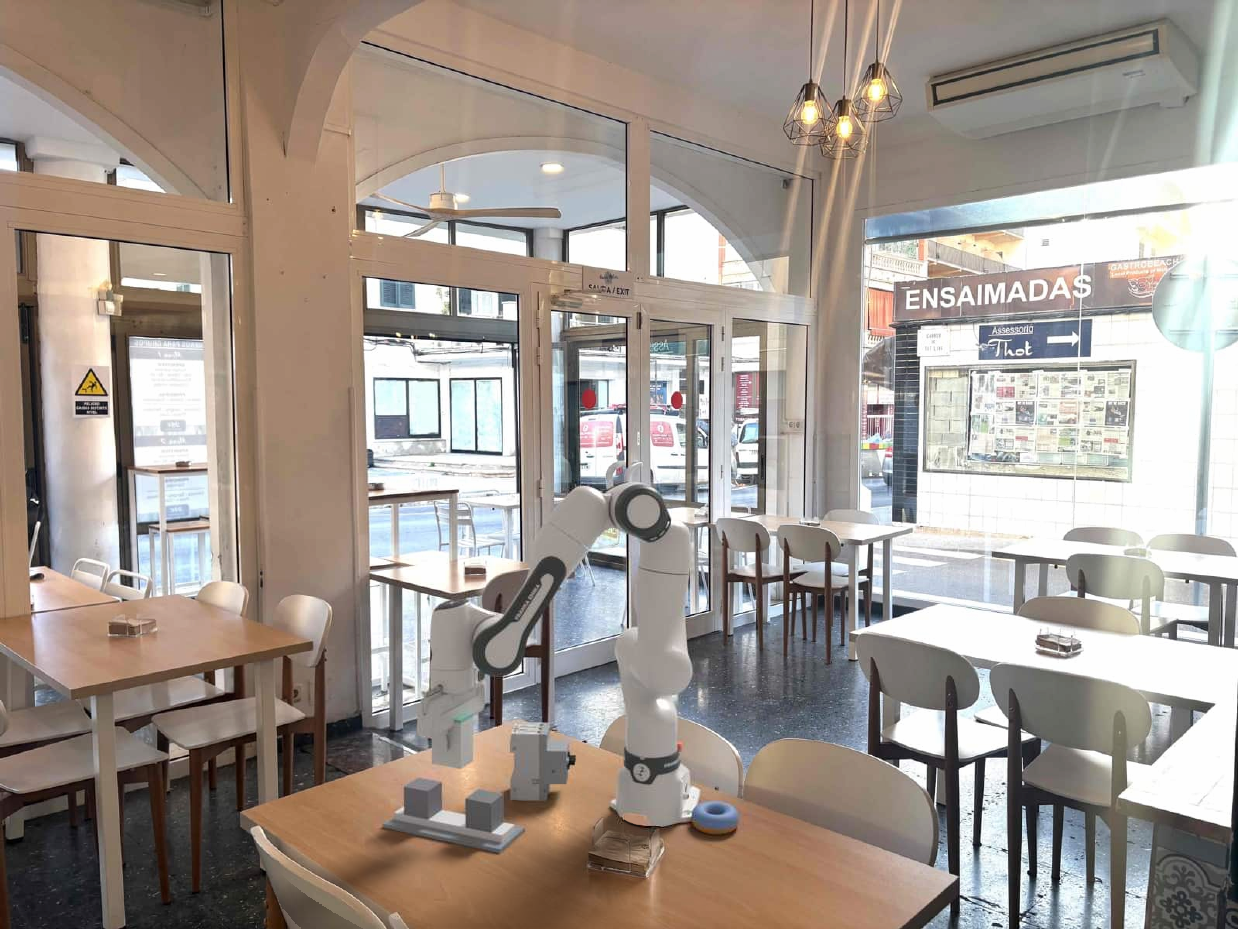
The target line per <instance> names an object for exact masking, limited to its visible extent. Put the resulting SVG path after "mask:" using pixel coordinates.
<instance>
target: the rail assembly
mask: <svg viewBox="0 0 1238 929" xmlns="http://www.w3.org/2000/svg"><path fill="white" fill-rule="evenodd" d="M442 784H443V783H442V781H438V780H433V779H427V778H421V777H417V778H415V779H414V780H412V781H410V782H409V783H407V784H405V785H403V806H402V807H401V808H398V810H396V811H395V812H394V814H393V815H394V816H392V817H391V818H389V819H388V820H386V821H385V822H383V823H382V828H385V829H388V830H392V831H398V832H403V833H405V834H411V835H415V836H420V837H424V838H428V839H429V838H430V839H434V840H438V841H442V842H443V841H444V842H448V843H452V844H457V845H461V846H464V847H471V848H474V849H479V850H484V851H489V852H492V853H497V854H501V853H503V851H505V850H506V849H507V848H508V847H509V846H510V845H511V844H512V843H513V842H515V841H516V840H517V839H518V838H519V837H521V835H522V834H523V833H525V831H526V828H525V827H523V826H520V825H515V824H514V823H507V822H505V804H504V803H505V797H504V796H505V794H504V793H502V792H498V791H497V792H495V791H490V790H486V789H480V788H478V789H476V790H475V791H474V792H473V793H470V795H468V796H467V797H465V799H464V800H465V801H464V802H465V804H464V806H465V809H464V810H465V813H459V812H455V811H450V810H444V809H443V785H442Z"/></svg>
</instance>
